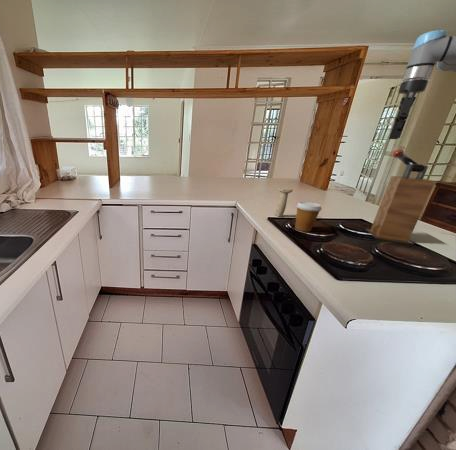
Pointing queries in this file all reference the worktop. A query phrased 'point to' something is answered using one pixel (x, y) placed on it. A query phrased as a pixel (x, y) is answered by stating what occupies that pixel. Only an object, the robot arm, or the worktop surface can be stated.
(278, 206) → the mushroom
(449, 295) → the worktop surface
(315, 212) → the disposable coffee cup
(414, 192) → the lever post
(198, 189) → the worktop surface
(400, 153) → the lever
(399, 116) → the robot arm
